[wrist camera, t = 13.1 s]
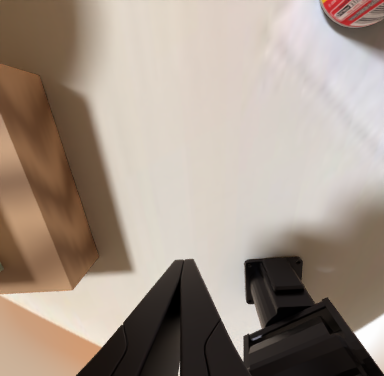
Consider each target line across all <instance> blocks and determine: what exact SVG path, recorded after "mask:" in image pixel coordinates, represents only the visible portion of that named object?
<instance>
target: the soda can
mask: <svg viewBox="0 0 384 376" xmlns="http://www.w3.org/2000/svg"><path fill="white" fill-rule="evenodd" d="M319 1H320V4H321V6H322V8H323V10H324V12H325V13H326V14H327V16H328V17H329V18H330V19H331V20H333V21H334V22H335V23H337V24H339V25H341V26H344V27H349V28H361V27H366V26H369V25H372V24H375V23H377V22H379V21H381V20H383V19H384V0H319Z"/></svg>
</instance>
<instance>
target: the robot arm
mask: <svg viewBox="0 0 384 376" xmlns="http://www.w3.org/2000/svg"><path fill="white" fill-rule="evenodd" d="M297 261H298V262H297ZM248 264H250V265H248ZM302 266H303V261H302V260H301V258H300V257H286V258H270V259H255V260H247V261H245V263H244V267H245V292H246V302H247V303H248V304H255V307H256V311H257V314H258V317H259V321H260V324H261V328H262V329H261V330H259V331H256V332H254V333H252V334H250V335H249V334H247V335H245V336H244V362H243V361H242V359H241V357H240V355H239V354H238V352H237V350H236V348H235V347H234V345H233V343H232V341H231V339H230V337H229V335H228V333H227V331H226V329H225V326H224V324H223V322H222V321H221V318H220V316H219V314H218V311H217V309H216V307H215V305H214V303H213V300H212V298H211V296H210V294H209V292H208V290H207V287H206V285H205V283H204V281H203V279H202V276H201V274H200V272H199V270H198V268H197V266H196V263H195V261H194V259H185V260H175V261H174V262H173V263H172V264H171V266H170V267H169V268H168V269H167V270H166V272H165V273H164V274H163V275H162V276H161V278H160V279H159V280H158V281H157V282H156V284H155V285H154V286H153V287H152V289H151V290H150V291H149V292H148V293H147V295H146V296H145V297H144V298H143V299H142V301H141V302H140V303H139V304H138V305H137V307H136V308H135V309H134V310H133V312H132V313H131V314H130V315H129V316H128V318H127V319H126V320H125V321H124V322H123V325H121V326H120V327H119V328H118V330H117V331H116V332H115V333H114V334H113V336H112V337H111V338H110V339H109V340H108V341H107V343H106V344H105V345H104V346H103V347H102V348H101V349H100V351H99V352H98V353H97V354H96V355H95V356H94V357H93V358H92V359H91V360H90V361H89V362H88V363H87V365H86V366H85V367H84V368H83V369H82V370H81V371H80V372H79V373H78V374H77V375H76V376H178V371H179V364H180V376H384V374H383V372H382V371H381V370H380V368H379V367H378V365H377V364H376V363H375V361H374V360H373V359H372V357H371V356H370V354H369V353H368V352H367V351H366V349H365V348H364V346H363V345H362V344H361V342H360V341H359V340H358V338H357V337H356V335H355V334H354V333H353V331H352V330H351V329H350V327H349V326H348V325H347V323H346V322H345V320H344V319H343V318H342V316H341V315H340V314H339V312H338V311H337V310H336V308H335V307H334V306H333V304H332V303H331V302H330V300H329V299H328V298H325V299H323V300H322V301H321V302H319V303H317V304H315V303H314V301H313V299H312V298H311V296H310V295H309V293H308V292H307V290H306V288H305V287H304V285H303V283H302V282H301V278H302Z"/></svg>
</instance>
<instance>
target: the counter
mask: <svg viewBox="0 0 384 376" xmlns="http://www.w3.org/2000/svg"><path fill="white" fill-rule="evenodd" d="M98 257H99V255H98V252H97V249H96V246H95V243H94V240H93V237H92V234H91V231H90V228H89V225H88V222H87V219H86V216H85V213H84V210H83V207H82V204H81V201H80V198H79V195H78V191H77V188H76V185H75V182H74V179H73V176H72V173H71V170H70V167H69V164H68V161H67V158H66V155H65V152H64V149H63V146H62V143H61V140H60V137H59V134H58V131H57V128H56V125H55V122H54V119H53V115H52V112H51V109H50V106H49V103H48V100H47V97H46V94H45V91H44V88H43V85H42V82H41V79H40V76H39V75H36V74H33V73H29V72H26V71H23V70H20V69H16V68H13V67H10V66H7V65H4V64H0V262H1V264H2V266H3V268H4V269H3V270H2V271H1V272H0V294H13V293H31V292H49V291H68V290H73V289H74V288H75V287H76V285H77V284H78V283H79V282H80V280H81V279H82V278H83V276H84V275H85V274H86V273H87V271H88V270H89V269H90V268H91V266H92V265H93V264H94V262H95V261H96V260H97V259H98Z"/></svg>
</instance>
